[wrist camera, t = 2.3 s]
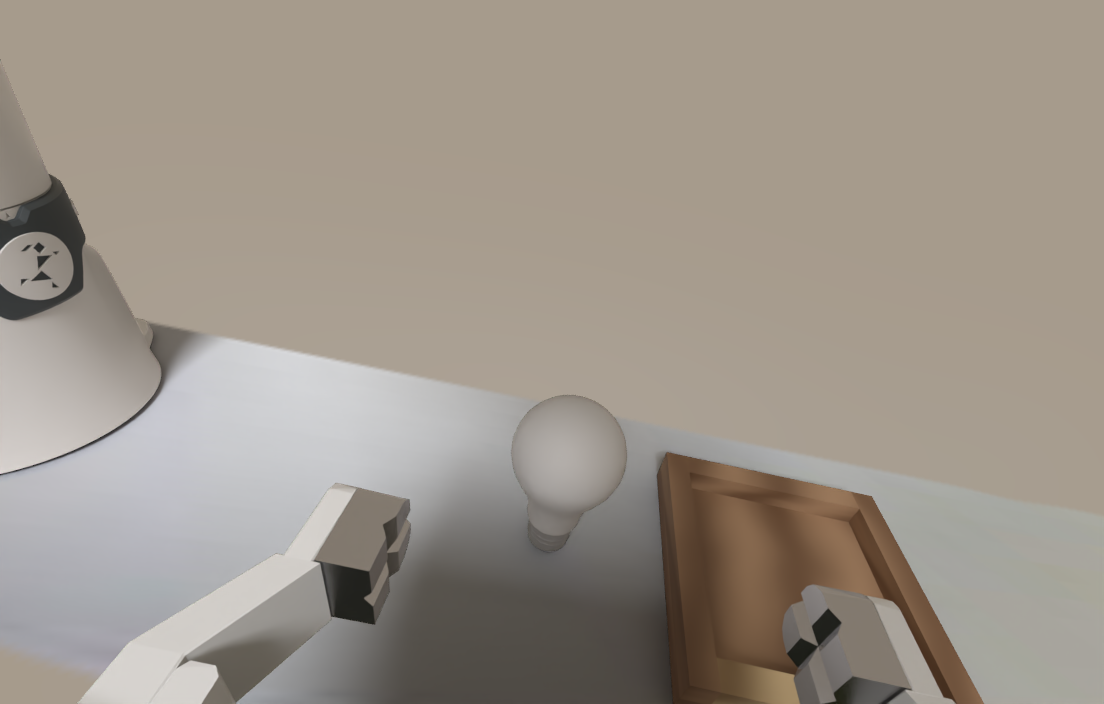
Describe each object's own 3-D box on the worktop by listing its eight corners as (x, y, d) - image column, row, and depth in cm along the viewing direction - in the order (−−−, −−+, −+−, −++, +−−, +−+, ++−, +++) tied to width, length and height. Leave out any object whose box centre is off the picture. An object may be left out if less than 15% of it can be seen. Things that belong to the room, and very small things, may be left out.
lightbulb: (567, 491, 33) (601, 365, 27) (611, 568, 29) (664, 440, 23) (483, 514, 30) (501, 380, 24) (518, 604, 26) (550, 469, 20)
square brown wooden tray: (673, 707, 23) (689, 685, 22) (656, 475, 36) (666, 452, 34) (977, 775, 23) (1013, 758, 22) (853, 517, 35) (871, 496, 34)
